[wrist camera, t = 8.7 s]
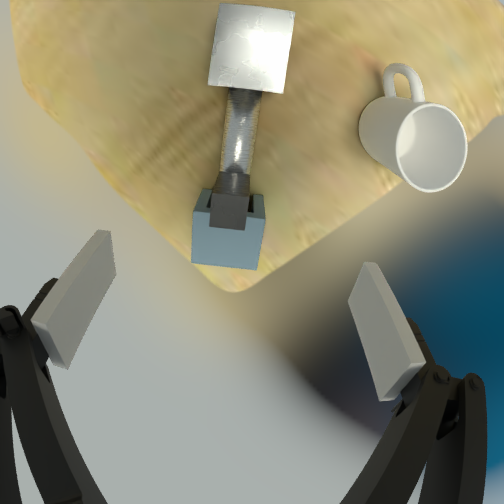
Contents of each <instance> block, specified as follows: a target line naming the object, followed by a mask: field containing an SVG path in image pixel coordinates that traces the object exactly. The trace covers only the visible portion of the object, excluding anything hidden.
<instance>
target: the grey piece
mask: <svg viewBox="0 0 504 504" xmlns="http://www.w3.org/2000/svg"><path fill="white" fill-rule="evenodd" d="M261 96H262V91H261V90H253V89H245V88H236V87H229V93H228V101H227V109H226V117H225V125H224V134H223V143H222V152H221V161H220V171H219V174H218V177H217V179H216V182H215V185H214V188H213V191H212V195H211V207H210V220H209V227H215V228H224V229H233V230H242V231H245V226H246V219H247V211H248V204H249V194H250V172H251V165H252V158H253V151H254V144H255V137H256V130H257V123H258V116H259V109H260V103H261Z"/></svg>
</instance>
